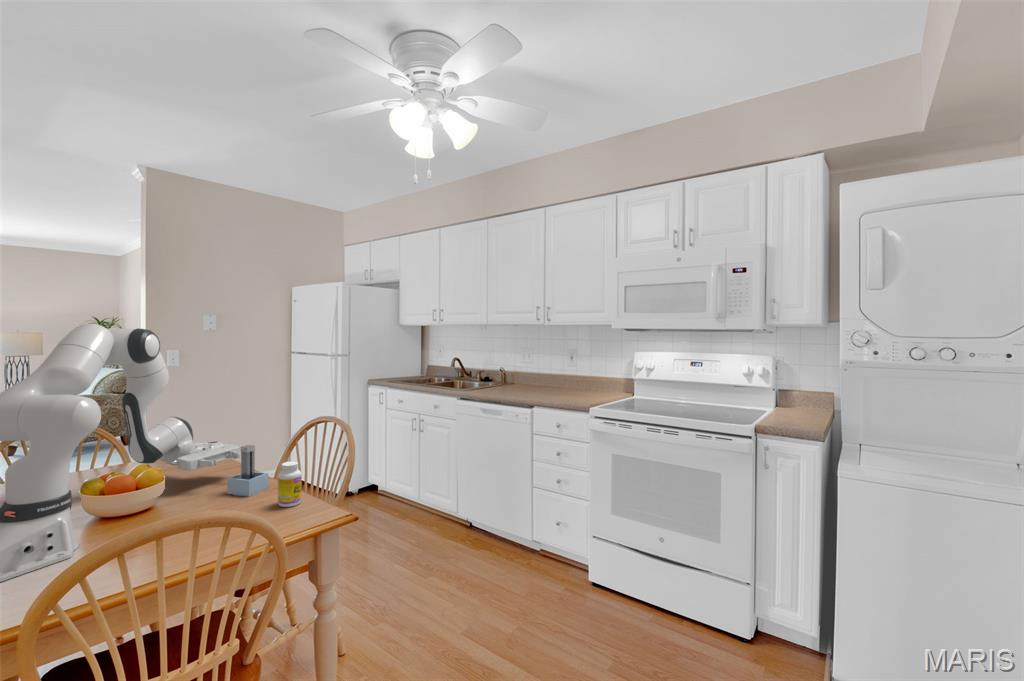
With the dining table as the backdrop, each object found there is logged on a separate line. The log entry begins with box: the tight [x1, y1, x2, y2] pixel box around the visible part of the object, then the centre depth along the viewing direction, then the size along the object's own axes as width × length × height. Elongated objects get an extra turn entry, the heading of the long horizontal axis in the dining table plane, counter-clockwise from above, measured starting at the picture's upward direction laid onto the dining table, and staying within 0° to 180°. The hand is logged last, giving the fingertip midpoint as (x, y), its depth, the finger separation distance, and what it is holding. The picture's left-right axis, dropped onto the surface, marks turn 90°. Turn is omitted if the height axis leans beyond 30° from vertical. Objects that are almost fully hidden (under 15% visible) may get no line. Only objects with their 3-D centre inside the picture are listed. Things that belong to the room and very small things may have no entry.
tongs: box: [240, 444, 256, 480], centre depth 162 cm, size 3×3×14 cm
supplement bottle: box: [277, 461, 302, 508], centre depth 152 cm, size 7×7×13 cm
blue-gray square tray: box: [226, 471, 269, 498], centre depth 163 cm, size 9×9×5 cm
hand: (226, 459), depth 166 cm, fingers open, 8 cm apart
